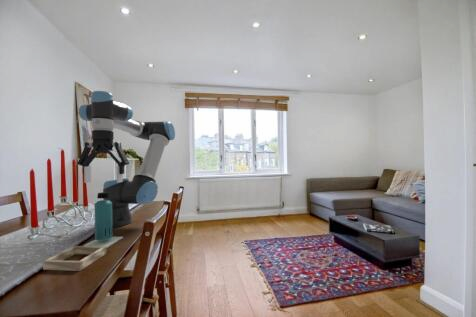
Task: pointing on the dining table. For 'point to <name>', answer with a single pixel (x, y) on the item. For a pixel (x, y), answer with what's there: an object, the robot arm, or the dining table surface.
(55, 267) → the wooden collar
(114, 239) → the rubber mat
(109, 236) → the beverage bottle
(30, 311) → the dining table surface
